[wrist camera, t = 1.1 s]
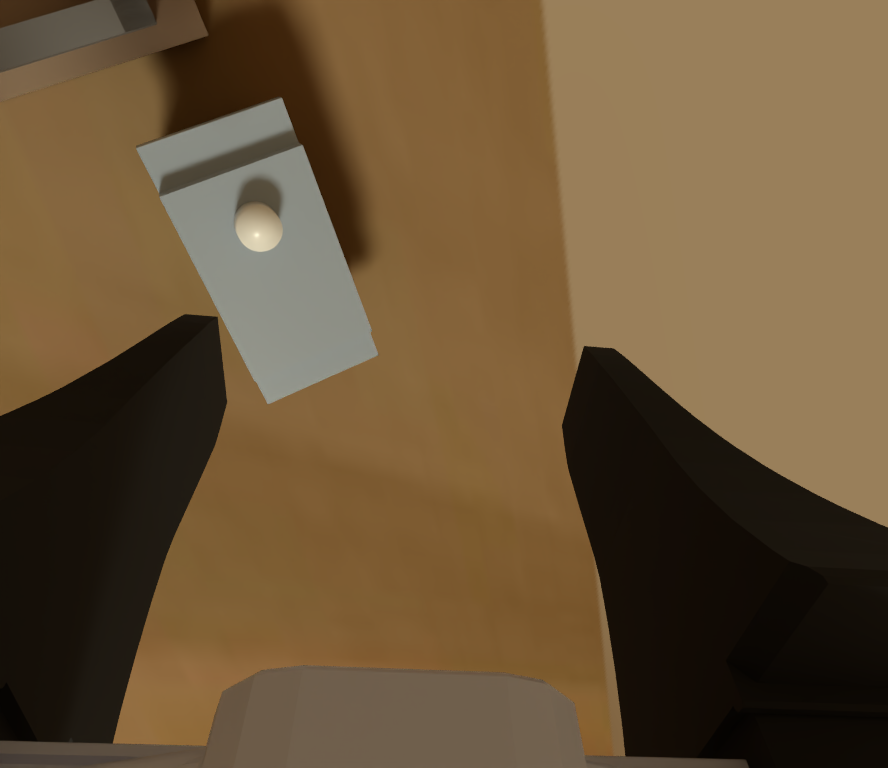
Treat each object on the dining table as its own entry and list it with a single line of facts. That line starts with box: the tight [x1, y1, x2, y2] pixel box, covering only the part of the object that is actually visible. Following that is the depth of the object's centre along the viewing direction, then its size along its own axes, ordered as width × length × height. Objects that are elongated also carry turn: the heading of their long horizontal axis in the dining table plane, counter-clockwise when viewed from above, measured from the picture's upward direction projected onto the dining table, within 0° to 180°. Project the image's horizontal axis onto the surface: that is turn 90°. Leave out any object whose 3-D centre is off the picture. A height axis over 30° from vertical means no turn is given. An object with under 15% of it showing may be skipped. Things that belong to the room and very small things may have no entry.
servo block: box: [136, 97, 378, 404], centre depth 20 cm, size 4×8×5 cm, turn 15°
